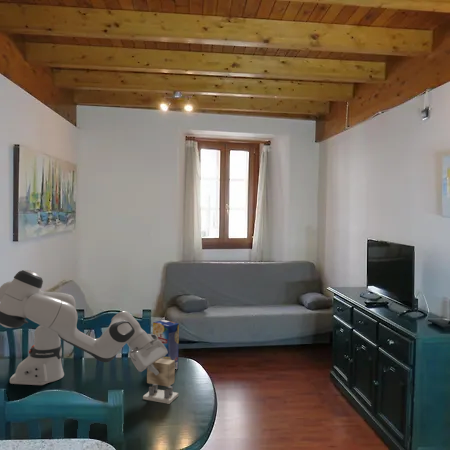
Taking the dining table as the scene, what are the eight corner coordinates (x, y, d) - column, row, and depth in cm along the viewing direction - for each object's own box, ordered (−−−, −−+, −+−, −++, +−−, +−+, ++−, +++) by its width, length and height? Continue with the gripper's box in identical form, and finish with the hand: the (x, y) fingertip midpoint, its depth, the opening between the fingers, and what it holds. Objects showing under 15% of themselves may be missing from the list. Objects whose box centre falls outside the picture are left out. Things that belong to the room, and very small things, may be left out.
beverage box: (162, 363, 215) (163, 319, 214) (178, 368, 208) (178, 323, 208) (152, 366, 210) (152, 322, 209) (168, 372, 203) (168, 326, 202)
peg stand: (142, 399, 175) (143, 388, 174) (152, 391, 182) (152, 381, 182) (169, 403, 171) (169, 393, 170) (178, 395, 178) (178, 385, 178)
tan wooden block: (147, 383, 175) (147, 361, 175) (153, 378, 180) (153, 357, 179) (168, 386, 172) (169, 364, 171) (174, 382, 176) (174, 360, 176)
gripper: (132, 347, 168) (154, 375, 165) (158, 333, 187) (178, 358, 184) (122, 357, 169) (144, 385, 166) (148, 342, 189) (168, 367, 186)
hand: (162, 371), depth 175 cm, fingers closed on tan wooden block, 5 cm apart
